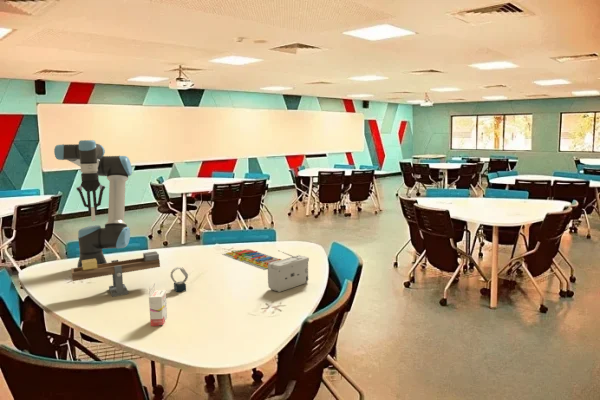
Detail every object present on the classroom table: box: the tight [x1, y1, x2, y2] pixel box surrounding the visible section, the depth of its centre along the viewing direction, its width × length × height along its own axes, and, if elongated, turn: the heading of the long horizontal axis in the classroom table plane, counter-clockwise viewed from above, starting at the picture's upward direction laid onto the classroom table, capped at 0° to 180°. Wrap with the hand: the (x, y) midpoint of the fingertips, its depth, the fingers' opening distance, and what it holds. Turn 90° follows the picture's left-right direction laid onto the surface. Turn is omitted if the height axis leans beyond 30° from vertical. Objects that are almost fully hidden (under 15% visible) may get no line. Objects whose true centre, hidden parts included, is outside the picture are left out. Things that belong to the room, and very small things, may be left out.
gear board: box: [221, 248, 283, 271], centre depth 273 cm, size 45×2×19 cm
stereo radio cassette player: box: [267, 250, 310, 293], centre depth 221 cm, size 21×8×20 cm, turn 135°
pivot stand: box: [108, 259, 129, 298], centre depth 218 cm, size 13×7×14 cm, turn 29°
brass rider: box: [82, 258, 98, 271], centre depth 211 cm, size 6×6×5 cm
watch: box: [170, 266, 189, 293], centre depth 219 cm, size 6×8×11 cm
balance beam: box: [70, 250, 161, 282], centre depth 217 cm, size 9×38×6 cm, turn 119°
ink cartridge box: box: [148, 283, 168, 327], centre depth 181 cm, size 9×5×15 cm, turn 5°
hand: (93, 220), depth 226 cm, fingers closed
